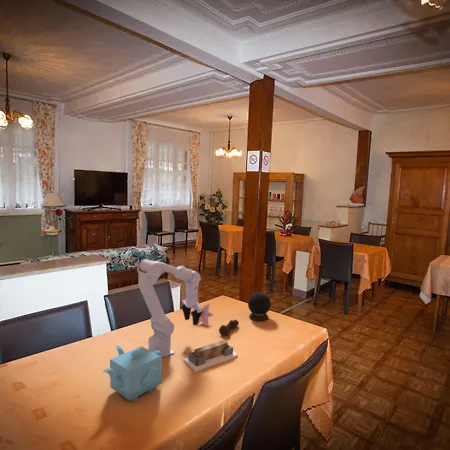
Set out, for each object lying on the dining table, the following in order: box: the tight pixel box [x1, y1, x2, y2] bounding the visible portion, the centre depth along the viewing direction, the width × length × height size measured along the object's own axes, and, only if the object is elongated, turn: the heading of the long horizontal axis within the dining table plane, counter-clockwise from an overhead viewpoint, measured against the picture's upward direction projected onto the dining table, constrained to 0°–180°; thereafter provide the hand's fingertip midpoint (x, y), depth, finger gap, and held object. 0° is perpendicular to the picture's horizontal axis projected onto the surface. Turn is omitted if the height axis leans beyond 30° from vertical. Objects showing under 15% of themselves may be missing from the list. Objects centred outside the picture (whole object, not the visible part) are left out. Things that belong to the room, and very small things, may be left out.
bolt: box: [218, 319, 239, 337], centre depth 181 cm, size 6×5×15 cm
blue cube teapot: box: [102, 345, 162, 402], centre depth 126 cm, size 19×19×15 cm
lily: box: [190, 303, 214, 327], centre depth 191 cm, size 12×12×10 cm
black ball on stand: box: [247, 291, 272, 322], centre depth 199 cm, size 13×13×15 cm
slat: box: [193, 339, 229, 361], centre depth 151 cm, size 16×3×5 cm, turn 127°
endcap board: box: [183, 343, 239, 372], centre depth 151 cm, size 22×10×4 cm, turn 127°
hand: (191, 322), depth 167 cm, fingers open, 7 cm apart
